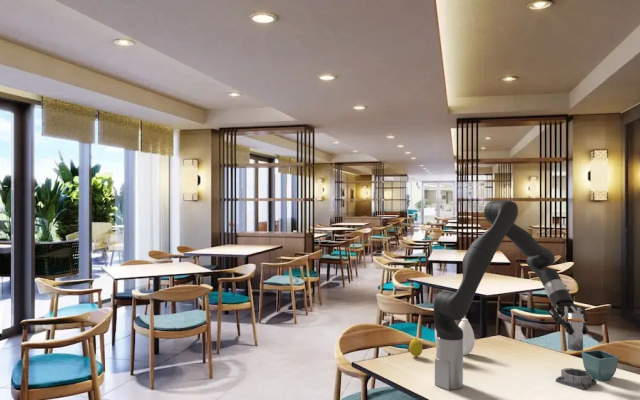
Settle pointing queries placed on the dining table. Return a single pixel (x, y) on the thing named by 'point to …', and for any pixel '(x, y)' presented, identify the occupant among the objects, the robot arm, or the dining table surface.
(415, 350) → the lemon
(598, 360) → the flower pot
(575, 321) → the grey travel mug
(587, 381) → the duct flange
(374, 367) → the dining table surface
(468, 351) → the sauce bottle
